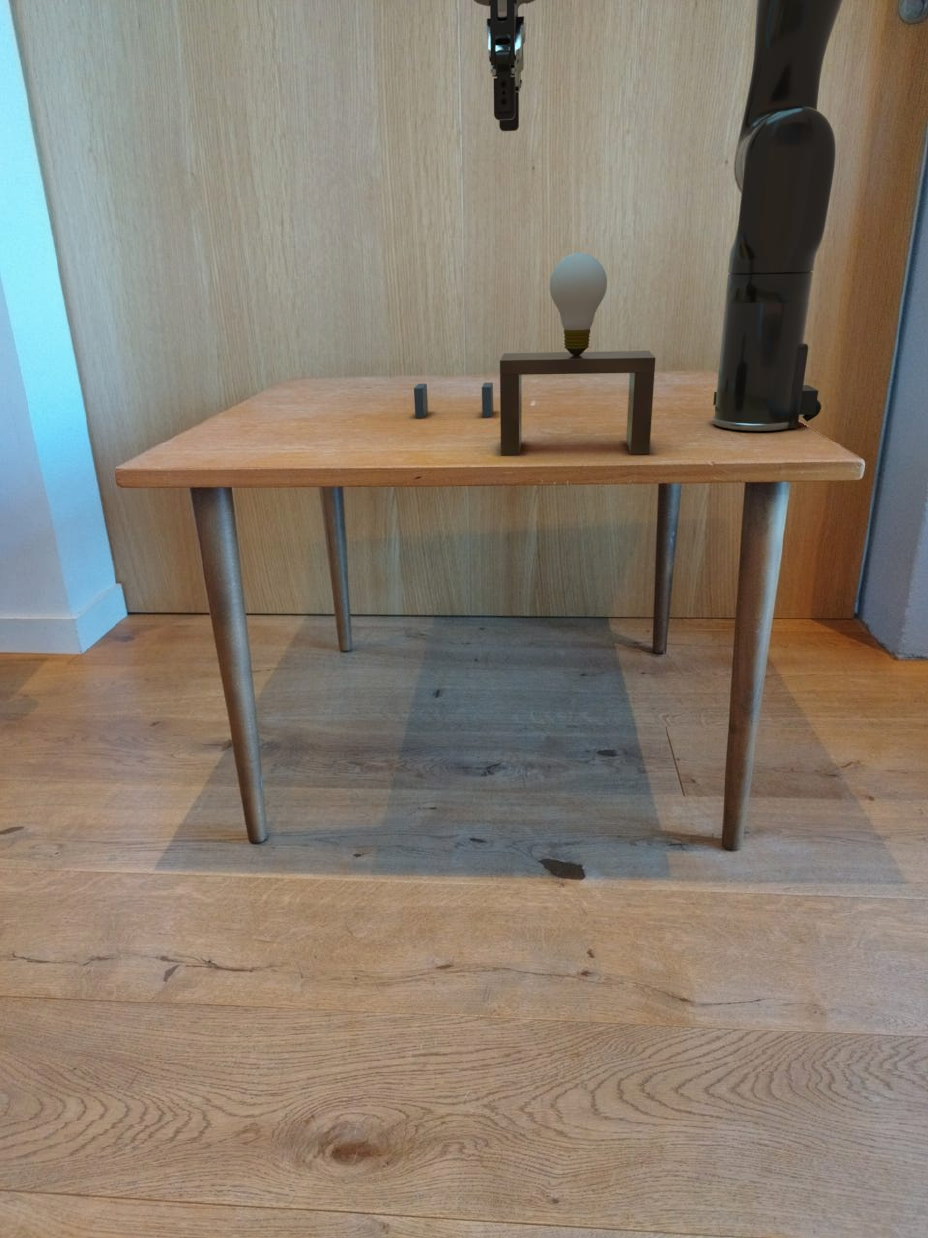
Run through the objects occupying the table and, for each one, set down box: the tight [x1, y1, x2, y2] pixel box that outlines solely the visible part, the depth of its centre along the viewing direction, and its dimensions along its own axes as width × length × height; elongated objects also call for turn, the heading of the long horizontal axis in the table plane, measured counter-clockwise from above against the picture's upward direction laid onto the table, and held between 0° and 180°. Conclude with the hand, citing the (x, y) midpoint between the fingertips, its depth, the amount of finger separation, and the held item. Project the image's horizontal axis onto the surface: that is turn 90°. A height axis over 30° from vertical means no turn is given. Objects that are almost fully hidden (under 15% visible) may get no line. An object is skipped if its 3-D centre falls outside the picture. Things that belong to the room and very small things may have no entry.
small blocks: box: [413, 382, 494, 419], centre depth 112 cm, size 10×4×4 cm, turn 84°
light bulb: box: [549, 252, 608, 355], centre depth 86 cm, size 6×6×10 cm
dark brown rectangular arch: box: [499, 350, 656, 456], centre depth 90 cm, size 16×6×10 cm, turn 84°
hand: (507, 125), depth 90 cm, fingers open, 8 cm apart
